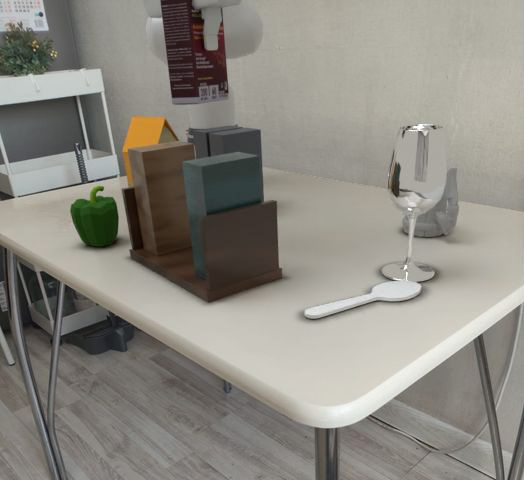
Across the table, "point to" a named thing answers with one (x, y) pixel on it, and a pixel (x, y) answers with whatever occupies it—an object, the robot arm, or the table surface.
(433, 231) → the grey curved piece
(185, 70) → the supplement box
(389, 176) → the wineglass
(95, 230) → the bell pepper
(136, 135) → the orange juice
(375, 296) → the spoon
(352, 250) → the table surface
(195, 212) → the book rack
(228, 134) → the grey books
